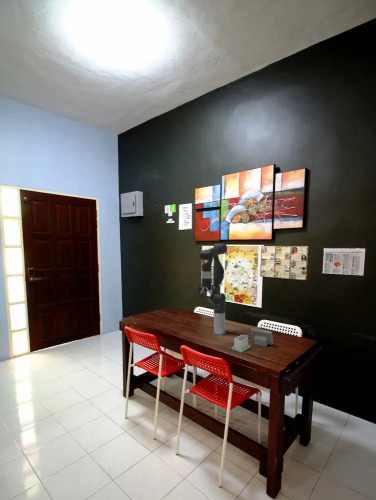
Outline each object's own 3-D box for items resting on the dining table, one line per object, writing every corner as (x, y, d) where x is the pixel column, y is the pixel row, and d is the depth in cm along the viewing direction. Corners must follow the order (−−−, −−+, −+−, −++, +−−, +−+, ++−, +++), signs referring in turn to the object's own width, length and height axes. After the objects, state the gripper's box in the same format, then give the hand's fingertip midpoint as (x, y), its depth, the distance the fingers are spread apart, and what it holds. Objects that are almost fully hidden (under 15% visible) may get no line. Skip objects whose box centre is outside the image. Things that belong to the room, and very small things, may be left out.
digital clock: (274, 345, 175) (274, 330, 175) (268, 348, 169) (268, 333, 169) (254, 339, 187) (254, 325, 187) (248, 342, 181) (248, 328, 181)
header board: (240, 344, 177) (240, 335, 177) (250, 347, 171) (250, 338, 171) (231, 349, 168) (231, 339, 168) (241, 352, 163) (241, 342, 163)
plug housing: (241, 343, 175) (241, 333, 175) (247, 344, 172) (247, 335, 172) (234, 347, 168) (234, 337, 168) (240, 349, 165) (240, 339, 164)
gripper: (217, 277, 175) (217, 300, 175) (202, 276, 185) (202, 297, 185) (211, 278, 170) (211, 301, 170) (196, 277, 179) (196, 298, 179)
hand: (206, 299), depth 177 cm, fingers open, 8 cm apart
